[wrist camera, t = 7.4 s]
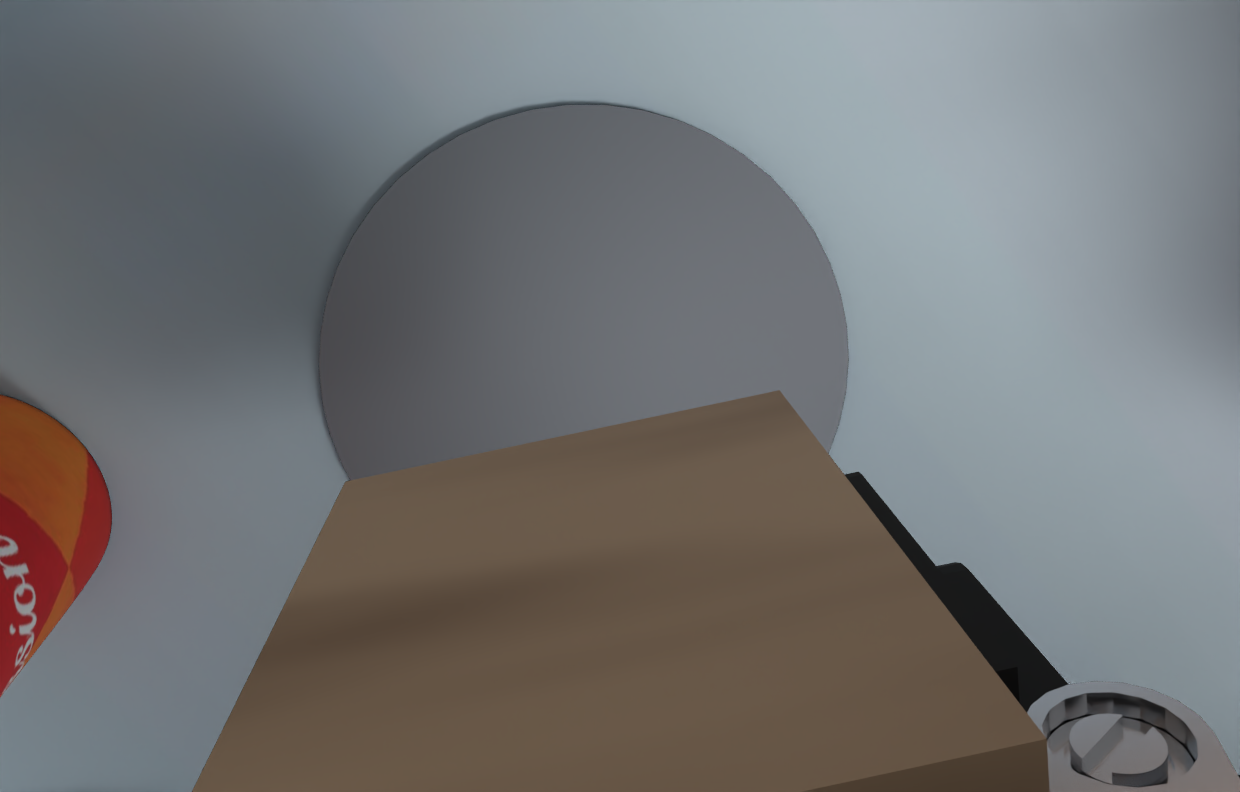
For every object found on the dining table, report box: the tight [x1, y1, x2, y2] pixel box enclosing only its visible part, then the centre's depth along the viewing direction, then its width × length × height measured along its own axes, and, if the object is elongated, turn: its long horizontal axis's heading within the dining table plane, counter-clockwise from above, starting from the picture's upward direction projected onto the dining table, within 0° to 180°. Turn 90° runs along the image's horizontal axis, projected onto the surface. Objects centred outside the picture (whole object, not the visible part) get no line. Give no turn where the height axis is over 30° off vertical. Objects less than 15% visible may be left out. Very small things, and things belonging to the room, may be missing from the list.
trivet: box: [319, 105, 849, 480], centre depth 22 cm, size 12×12×1 cm
